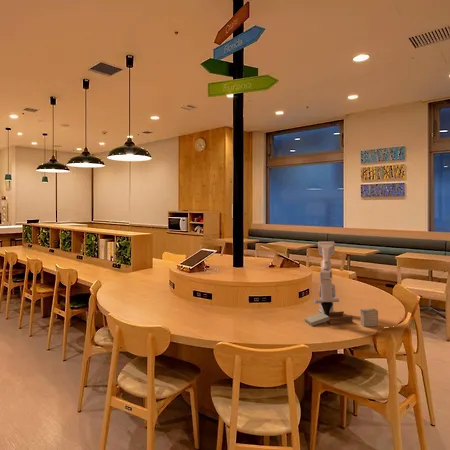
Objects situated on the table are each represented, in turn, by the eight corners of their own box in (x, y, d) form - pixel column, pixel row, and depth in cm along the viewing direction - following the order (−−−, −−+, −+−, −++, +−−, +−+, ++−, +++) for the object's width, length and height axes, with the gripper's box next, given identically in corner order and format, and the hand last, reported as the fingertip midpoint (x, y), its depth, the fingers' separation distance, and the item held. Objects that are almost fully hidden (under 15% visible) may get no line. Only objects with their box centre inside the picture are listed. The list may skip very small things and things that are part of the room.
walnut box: (322, 319, 207) (322, 312, 207) (343, 318, 209) (343, 311, 209) (330, 325, 197) (330, 317, 197) (352, 323, 199) (352, 315, 199)
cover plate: (305, 321, 204) (304, 318, 204) (322, 315, 206) (321, 312, 206) (311, 326, 196) (310, 322, 196) (329, 319, 198) (328, 316, 198)
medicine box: (374, 323, 197) (374, 308, 197) (378, 326, 193) (378, 310, 192) (360, 324, 197) (360, 308, 196) (363, 327, 192) (363, 311, 192)
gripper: (317, 293, 196) (317, 318, 197) (341, 292, 199) (342, 316, 199) (311, 291, 203) (312, 314, 203) (335, 289, 206) (336, 312, 206)
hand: (326, 315), depth 202 cm, fingers closed
